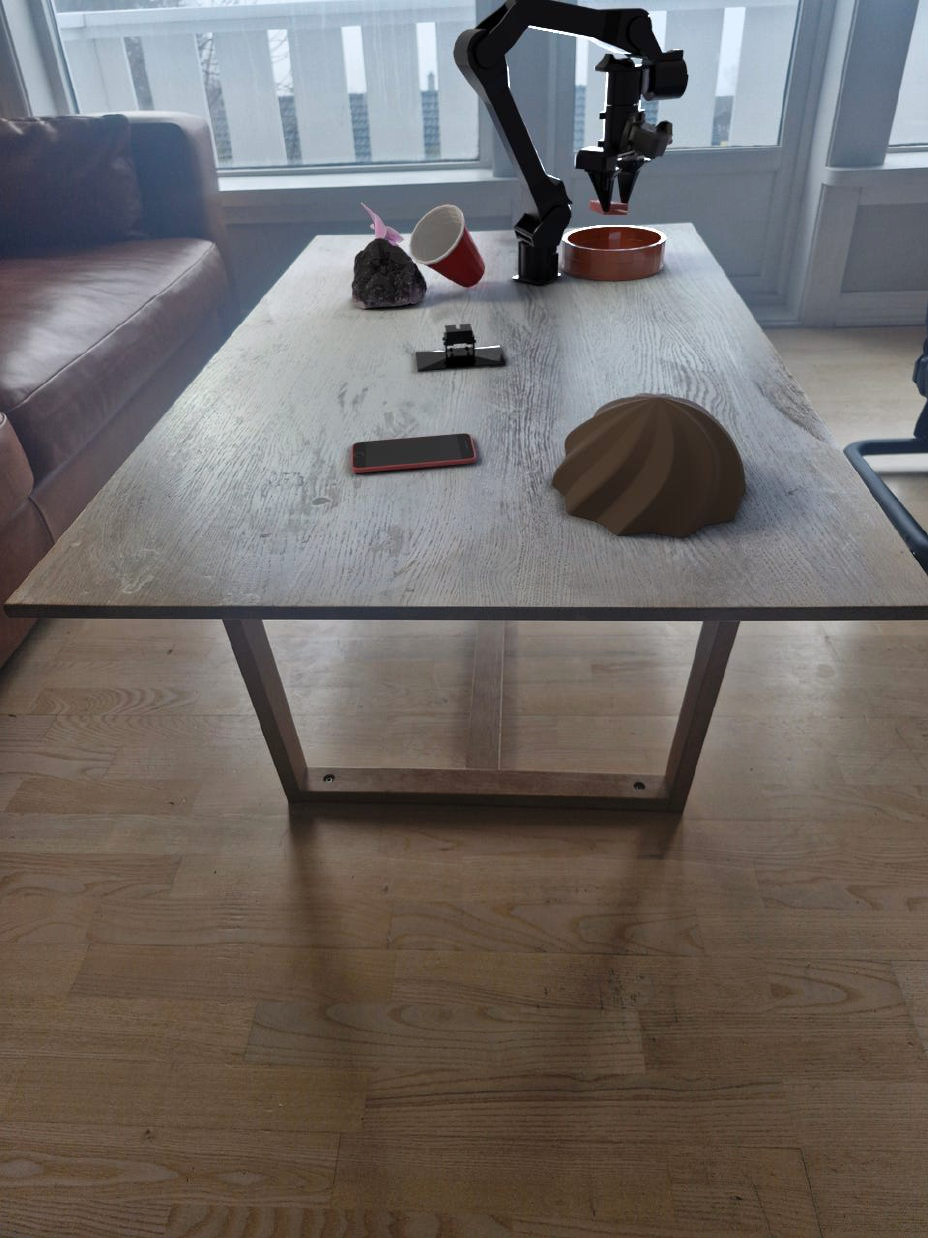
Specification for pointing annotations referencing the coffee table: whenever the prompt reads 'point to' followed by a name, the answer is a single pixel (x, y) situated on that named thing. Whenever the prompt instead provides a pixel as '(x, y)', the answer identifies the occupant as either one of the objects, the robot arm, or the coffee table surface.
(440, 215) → the plastic cup
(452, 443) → the smartphone
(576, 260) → the bowl
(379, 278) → the crystal cluster
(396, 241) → the lily
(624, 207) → the popsicle
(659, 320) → the coffee table surface
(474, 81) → the robot arm
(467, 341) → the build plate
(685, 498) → the decorative dome
